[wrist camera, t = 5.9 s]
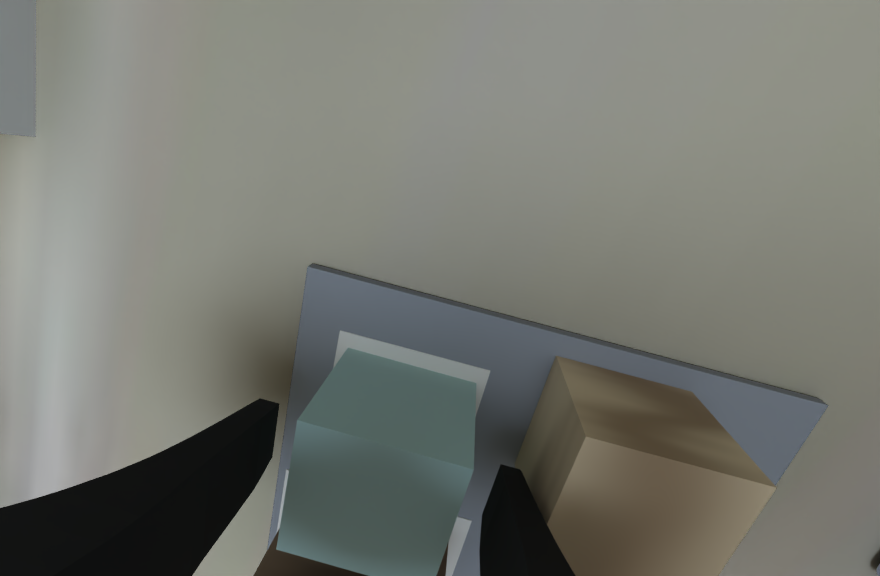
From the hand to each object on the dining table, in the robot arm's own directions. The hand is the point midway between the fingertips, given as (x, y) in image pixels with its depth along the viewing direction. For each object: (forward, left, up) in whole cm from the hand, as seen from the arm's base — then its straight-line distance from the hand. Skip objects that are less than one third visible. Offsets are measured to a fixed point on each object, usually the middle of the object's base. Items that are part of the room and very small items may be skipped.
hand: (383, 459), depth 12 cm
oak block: (-7, -2, -2) cm, 7 cm away
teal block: (0, 0, -2) cm, 2 cm away
